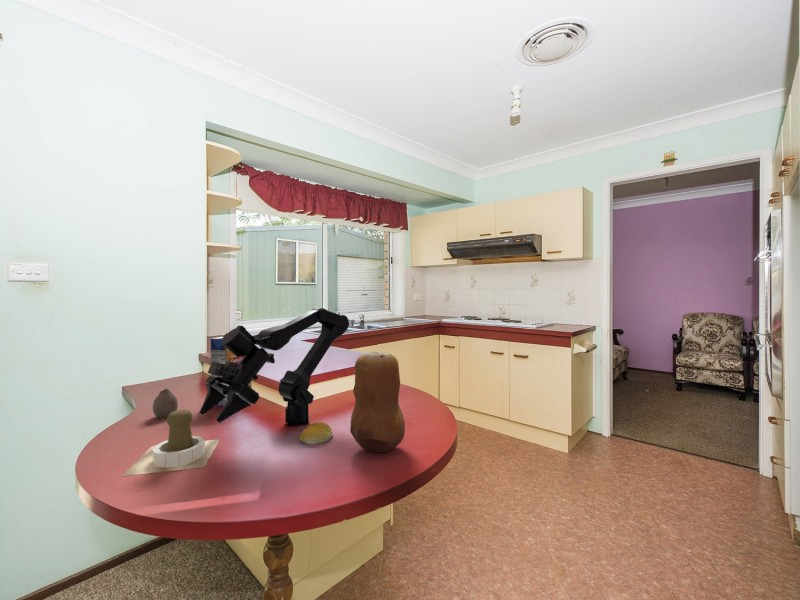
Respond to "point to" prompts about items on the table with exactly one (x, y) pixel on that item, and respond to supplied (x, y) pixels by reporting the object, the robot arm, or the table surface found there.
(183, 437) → the cork
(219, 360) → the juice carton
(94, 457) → the table surface
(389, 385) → the butternut squash
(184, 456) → the cream collar
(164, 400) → the brown fig
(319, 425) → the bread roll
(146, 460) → the oak board
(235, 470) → the table surface
